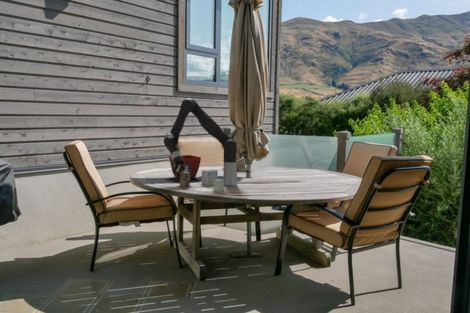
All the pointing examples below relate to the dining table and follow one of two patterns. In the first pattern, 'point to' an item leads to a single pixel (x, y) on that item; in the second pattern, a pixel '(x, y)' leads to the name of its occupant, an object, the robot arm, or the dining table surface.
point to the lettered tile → (203, 189)
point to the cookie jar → (240, 165)
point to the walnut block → (185, 179)
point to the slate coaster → (184, 187)
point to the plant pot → (190, 160)
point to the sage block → (218, 185)
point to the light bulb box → (209, 176)
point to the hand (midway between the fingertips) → (184, 176)
